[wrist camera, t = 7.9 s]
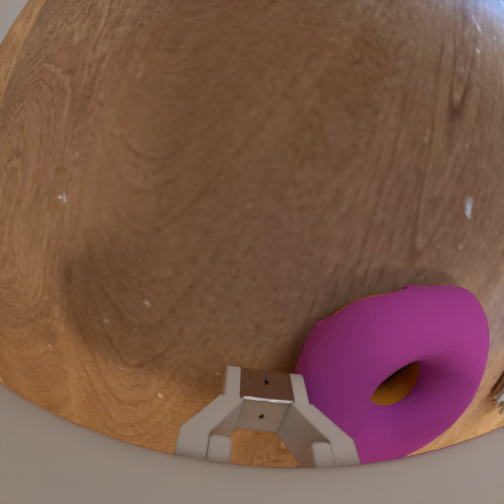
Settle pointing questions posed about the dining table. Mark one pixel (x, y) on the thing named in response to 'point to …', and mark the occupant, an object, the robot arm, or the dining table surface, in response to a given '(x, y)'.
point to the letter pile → (499, 396)
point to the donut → (397, 367)
